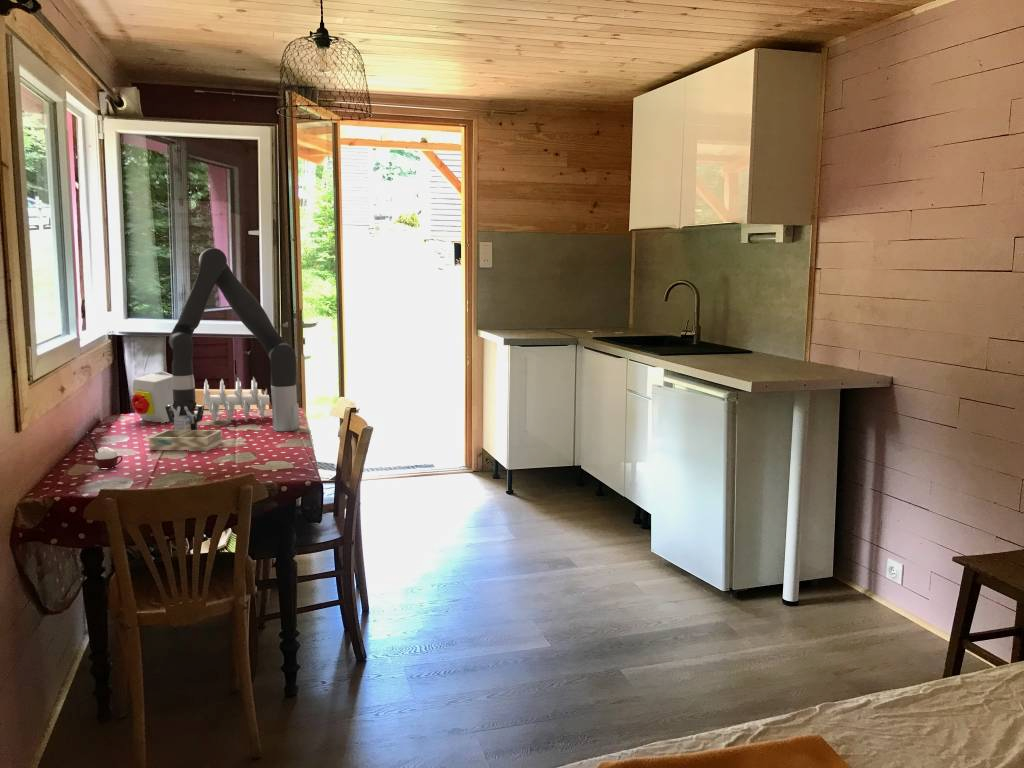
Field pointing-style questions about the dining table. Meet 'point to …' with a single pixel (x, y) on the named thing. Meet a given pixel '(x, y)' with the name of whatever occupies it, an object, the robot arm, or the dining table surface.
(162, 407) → the electrical switch box
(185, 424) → the medicine box
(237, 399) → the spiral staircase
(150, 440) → the rack
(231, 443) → the dining table surface
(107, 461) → the cocoa
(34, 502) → the dining table surface
